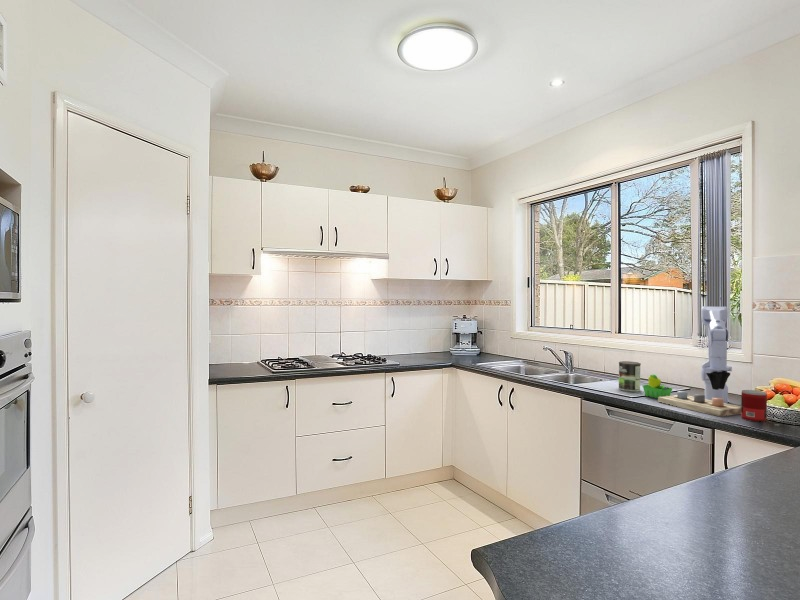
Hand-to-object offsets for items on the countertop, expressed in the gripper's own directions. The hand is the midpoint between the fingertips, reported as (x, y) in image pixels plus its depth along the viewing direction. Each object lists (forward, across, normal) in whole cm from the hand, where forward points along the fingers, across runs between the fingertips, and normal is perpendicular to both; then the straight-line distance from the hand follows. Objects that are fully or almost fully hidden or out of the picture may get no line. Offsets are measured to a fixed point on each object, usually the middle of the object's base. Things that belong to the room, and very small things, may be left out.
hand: (718, 389), depth 199 cm
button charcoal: (+8, 0, +8) cm, 11 cm away
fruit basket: (+10, +1, +30) cm, 32 cm away
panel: (+9, 0, +8) cm, 12 cm away
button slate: (+8, 0, +16) cm, 18 cm away
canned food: (+10, 0, -14) cm, 17 cm away
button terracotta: (+8, 0, 0) cm, 8 cm away
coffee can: (+10, +5, +49) cm, 50 cm away
